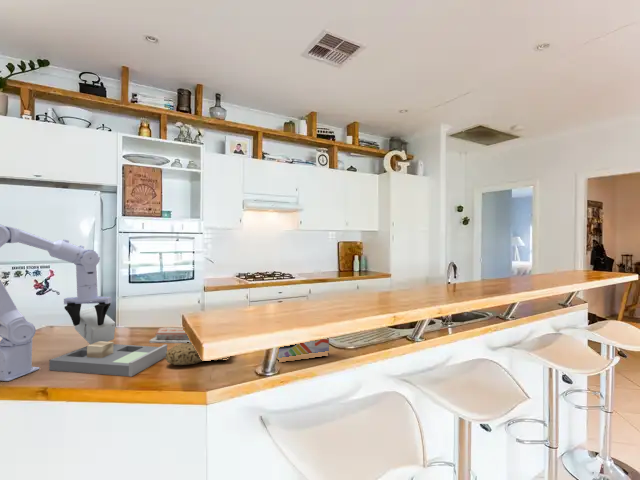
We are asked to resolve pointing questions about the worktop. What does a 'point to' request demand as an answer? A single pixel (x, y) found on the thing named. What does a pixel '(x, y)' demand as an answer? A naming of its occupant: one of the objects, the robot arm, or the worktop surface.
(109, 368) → the platform
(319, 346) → the cake pan box
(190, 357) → the sponge
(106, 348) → the block
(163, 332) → the packaged product
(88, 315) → the supplement box
